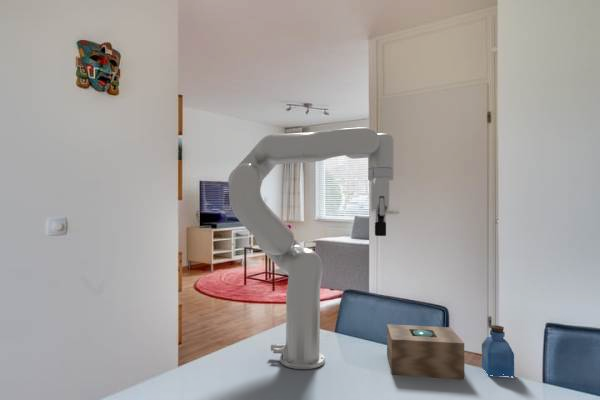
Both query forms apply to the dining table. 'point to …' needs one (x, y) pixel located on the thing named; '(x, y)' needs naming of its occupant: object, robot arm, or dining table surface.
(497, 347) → the perfume bottle
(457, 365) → the housing
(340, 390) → the dining table surface
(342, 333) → the dining table surface
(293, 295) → the robot arm
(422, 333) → the plunger
